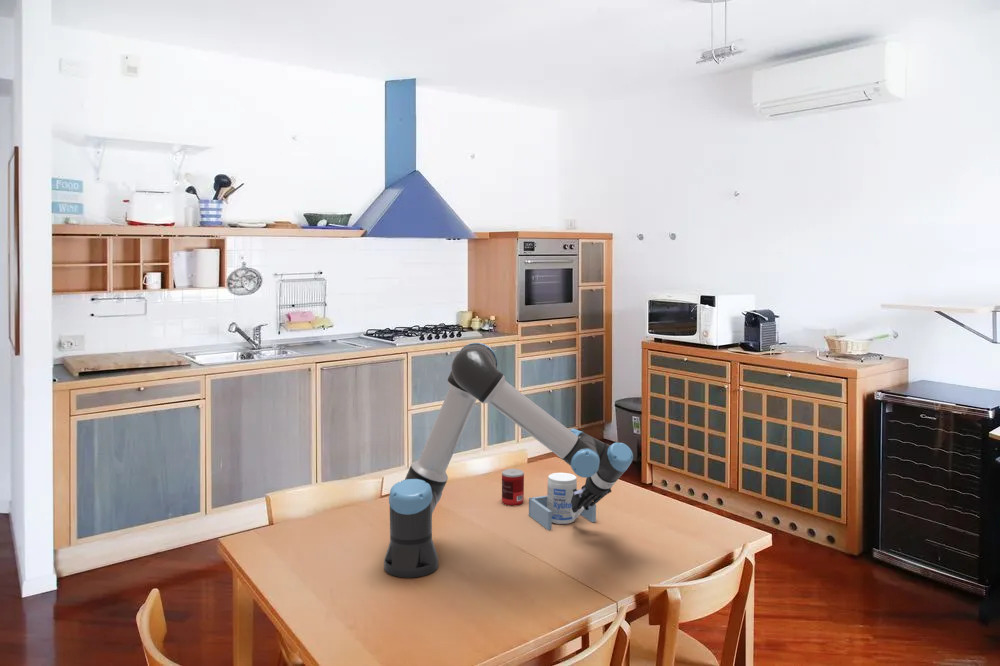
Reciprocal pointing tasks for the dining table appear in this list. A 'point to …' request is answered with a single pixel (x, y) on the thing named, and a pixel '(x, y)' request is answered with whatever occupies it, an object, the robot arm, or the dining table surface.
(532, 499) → the bay
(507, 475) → the canned food
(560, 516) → the supplement tub
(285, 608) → the dining table surface
